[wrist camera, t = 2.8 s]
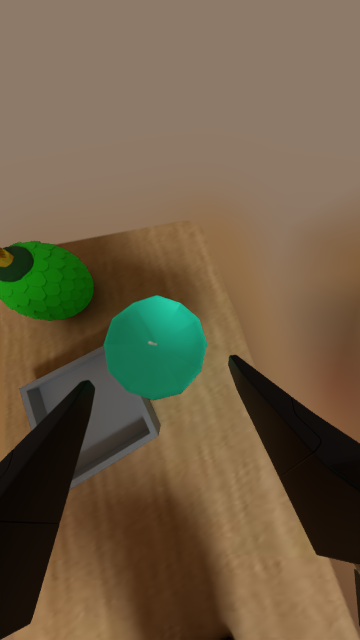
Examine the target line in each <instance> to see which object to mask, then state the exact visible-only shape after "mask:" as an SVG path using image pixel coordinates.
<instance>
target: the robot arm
mask: <svg viewBox="0 0 360 640" xmlns="http://www.w3.org/2000/svg"><path fill="white" fill-rule="evenodd" d="M228 366H229V369H230V372H231V375H232V377H233V380H234V383H235V386H236V388H237V391H238V393H239V395H240V397H241V399H242V401H243V403H244V405H245V408H246V410H247V412H248V414H249V416H250V418H251V420H252V422H253V424H254V426H255V428H256V430H257V432H258V435H259V437H260V439H261V441H262V443H263V445H264V447H265V449H266V451H267V453H268V455H269V457H270V459H271V462H272V464H273V466H274V468H275V470H276V472H277V474H278V476H279V478H280V480H281V482H282V485H283V487H284V489H285V491H286V493H287V495H288V497H289V499H290V501H291V503H292V505H293V507H294V509H295V512H296V514H297V516H298V518H299V520H300V522H301V524H302V526H303V528H304V530H305V532H306V534H307V536H308V539H309V541H310V543H311V545H312V547H313V549H314V551H315V553H316V554H317V555H319V556H323V557H328V558H332V559H336V560H341V561H345V562H349V563H353V564H354V565H355V567H356V569H355V570H354V573H355V584H356V595H357V605H358V617H359V626H360V443H358V442H357V441H355V440H354V439H352V438H351V437H349V436H348V435H346V434H344V433H343V432H342V431H340V430H339V429H337V428H335V427H334V426H332V425H331V424H330V423H328V422H326V421H325V420H323V419H322V418H320V417H319V416H318V415H316V414H315V413H313V412H312V411H310V410H309V409H308V408H306V407H305V406H303V405H302V404H301V403H299V402H298V401H297V400H295V399H294V398H293V397H291V396H290V395H289V394H287V393H286V392H285V391H283V390H282V389H281V388H279V387H278V386H277V385H275V384H274V383H272V382H271V381H270V380H269V379H268V378H266V377H265V376H264V375H262V374H261V373H260V372H258V371H257V370H256V369H254V368H253V367H252V366H250V365H249V364H248V363H246V362H245V361H244V360H242V359H241V358H240V357H238V356H237V355H230V356H229V362H228ZM94 395H95V386H94V385H93V384H92V383H91V381H90V380H83V381H81V382H80V383H79V384H78V385H77V386H76V387H75V388H74V389H73V390H72V391H71V392H70V393H69V394H68V395H67V396H66V397H65V398H64V399H63V400H62V401H61V402H60V403H59V404H58V405H57V406H56V407H55V408H54V409H53V410H52V411H51V412H50V413H49V414H48V415H47V416H46V417H45V418H44V419H43V420H42V421H41V422H40V423H39V424H38V425H37V426H36V427H35V428H34V429H33V430H32V431H31V432H30V433H29V434H28V435H27V436H26V437H25V438H24V439H23V440H22V441H21V442H20V443H19V444H18V445H17V446H16V447H15V448H14V449H13V450H12V451H11V452H10V453H9V454H8V455H7V456H6V457H5V458H4V459H3V460H2V461H1V462H0V640H1V639H3V638H5V637H6V636H8V635H10V634H12V633H14V632H16V631H18V630H20V629H21V628H23V627H25V626H27V625H29V624H30V623H31V620H32V618H33V615H34V611H35V608H36V604H37V601H38V597H39V594H40V591H41V587H42V584H43V580H44V577H45V573H46V570H47V566H48V563H49V559H50V556H51V552H52V549H53V545H54V542H55V538H56V535H57V531H58V528H59V523H60V521H61V517H62V514H63V510H64V507H65V503H66V500H67V496H68V493H69V489H70V486H71V482H72V479H73V475H74V472H75V468H76V465H77V461H78V458H79V454H80V451H81V447H82V444H83V441H84V437H85V434H86V430H87V427H88V423H89V420H90V416H91V411H92V405H93V400H94ZM225 640H233V638H231V637H228V638H226V639H225Z"/></svg>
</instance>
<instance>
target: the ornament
mask: <svg viewBox="0 0 360 640" xmlns="http://www.w3.org/2000/svg"><path fill="white" fill-rule="evenodd" d="M93 287H94V283H93V280H92V276H91V274H90V273H89V272H88V270H87V267H86V265H84V264H83V263H82V262H81V261H80V259H79V258H78V257H77V256H75V255H73V254H71V252H69V251H67V250H65V249H63V248H60V247H57V245H54V244H46V243H41V242H40V241H31V242H25V243H21V242H19V243H15V244H13V245H11V246H9V247H5V248H3V249H2V248H0V299H1V300H2V301H3V302H4V303H5V304H6V305H7V306H8V307H9V308H10V309H12V310H13V309H14V310H15V311H17V312H18V313H19V314H22V315H24V316H29V317H31V318H34V319H40V320H42V319H43V320H48V321H52V320H54V319H55V320H58V319H66V318H68V317H72V316H75V314H77V313H80V312H81V311H82V310H83V309H84V308H86V307H87V306H88V304H89V302H90V301H91V299H92V296H93V293H94V288H93Z"/></svg>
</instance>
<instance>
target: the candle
mask: <svg viewBox="0 0 360 640" xmlns="http://www.w3.org/2000/svg"><path fill="white" fill-rule="evenodd" d="M206 347H207V342H206V339H205V336H204V332H203V329H202V326H201V323H200V320H199V318H198V317H197V316H195V315H194V314H193V313H192V312H191V311H189V310H188V309H187V308H186V307H185V306H184V305H182V304H181V303H179V302H176V301H173V300H170V299H167V298H164V297H161V296H157V295H156V296H153V297H150V298H147V299H144V300H140V301H137V302H134V303H132V304H131V305H130V306H128V307H127V308H126V309H124V310H123V311H122V312H120V313H119V314H118V315H116V316H115V317H114V318H112V320H111V323H110V326H109V329H108V332H107V335H106V339H105V342H104V350H105V355H106V361H107V367H108V372H109V373H110V374H111V375H112V376H113V377H114V378H115V379H116V380H117V381H118V382H119V383H120V384H121V385H122V386H123V387H124V389H125V390H126V391H127V392H130V393H133V394H136V395H139V396H142V397H145V398H148V399H151V400H157V399H161V398H165V397H169V396H173V395H177V394H181V393H182V392H183V391H184V390H185V389H186V388H187V386H188V385H189V384H190V383H191V382H192V381H193V380H194V378H195V377H196V376H197V375H198V374H199V373H200V372H201V368H202V364H203V360H204V355H205V351H206Z"/></svg>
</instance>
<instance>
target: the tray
mask: <svg viewBox="0 0 360 640" xmlns="http://www.w3.org/2000/svg"><path fill="white" fill-rule="evenodd" d="M83 380H90V381H91V383H92V384H93V385H94V386H95V395H94V400H93V405H92V411H91V416H90V420H89V423H88V427H87V430H86V434H85V437H84V441H83V444H82V447H81V451H80V454H79V458H78V461H77V465H76V468H75V472H74V475H73V479H72V482H71V486H70V489H72V488H74V487H75V486H77V485H79V484H80V483H82V482H83V481H85V480H87V479H88V478H90V477H92V476H93V475H95V474H97V473H98V472H100V471H102V470H103V469H105V468H106V467H108V466H110V465H111V464H113V463H115V462H116V461H118V460H120V459H121V458H123V457H124V456H126V455H128V454H129V453H131V452H133V451H134V450H136V449H138V448H139V447H141V446H142V445H144V444H146V443H147V442H149V441H151V440H152V439H154V438H156V437H157V436H158V435H159V431H160V426H161V425H160V423H159V421H158V419H157V416H156V414H155V412H154V410H153V408H152V405H151V403H150V401H149V399H148V398H145V397H142V396H139V395H136V394H133V393H130V392H127V391H126V390H125V389H124V387H123V386H122V385H121V384H120V383H119V382H118V381H117V380H116V379H115V378H114V377H113V376H112V375H111V374H110V373H109V372H108V367H107V361H106V355H105V350H104V345H103V346H101V347H99V348H97V349H95V350H93V351H92V352H90V353H88V354H86V355H84V356H82V357H80V358H78V359H76V360H74V361H72V362H70V363H68V364H66V365H64V366H62V367H60V368H58V369H56V370H54V371H52V372H51V373H49V374H47V375H45V376H43V377H41V378H39V379H37V380H35V381H33V382H31V383H29V384H27V385H25V386H23V387H21V388H19V389H20V393H21V396H22V399H23V403H24V406H25V410H26V413H27V417H28V420H29V423H30V427H31V430H33V429H34V428H35V427H36V426H37V425H38V424H39V423H40V422H41V421H42V420H43V419H44V418H45V417H46V416H47V415H48V414H49V413H50V412H51V411H52V410H53V409H54V408H55V407H56V406H57V405H58V404H59V403H60V402H61V401H62V400H63V399H64V398H65V397H66V396H67V395H68V394H69V393H70V392H71V391H72V390H73V389H74V388H75V387H76V386H77V385H78V384H79V383H80V382H81V381H83ZM70 489H69V490H70Z"/></svg>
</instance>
